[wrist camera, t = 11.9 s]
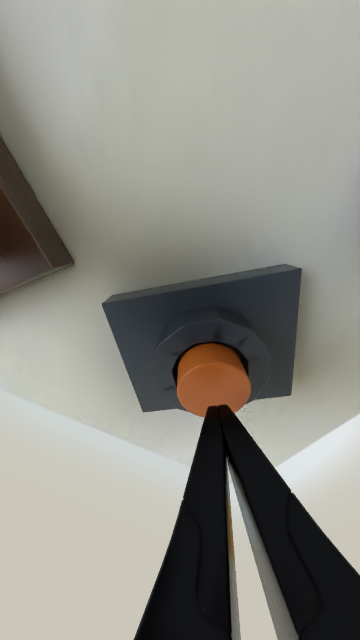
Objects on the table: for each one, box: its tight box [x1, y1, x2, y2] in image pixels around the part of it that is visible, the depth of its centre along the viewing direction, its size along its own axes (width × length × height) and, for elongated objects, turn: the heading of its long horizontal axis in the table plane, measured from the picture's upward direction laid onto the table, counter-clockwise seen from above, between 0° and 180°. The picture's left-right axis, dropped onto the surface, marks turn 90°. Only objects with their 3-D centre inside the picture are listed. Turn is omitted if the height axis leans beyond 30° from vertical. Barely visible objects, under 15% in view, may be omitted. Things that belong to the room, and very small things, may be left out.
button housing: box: [102, 264, 302, 412], centre depth 12 cm, size 11×9×4 cm
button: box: [177, 343, 251, 417], centre depth 10 cm, size 4×4×2 cm
